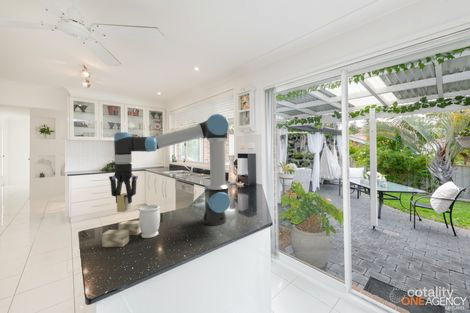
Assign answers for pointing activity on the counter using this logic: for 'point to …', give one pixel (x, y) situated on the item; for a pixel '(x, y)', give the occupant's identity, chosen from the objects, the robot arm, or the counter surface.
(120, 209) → the yellowish stone chunk
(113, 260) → the counter surface
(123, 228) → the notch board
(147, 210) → the jar
